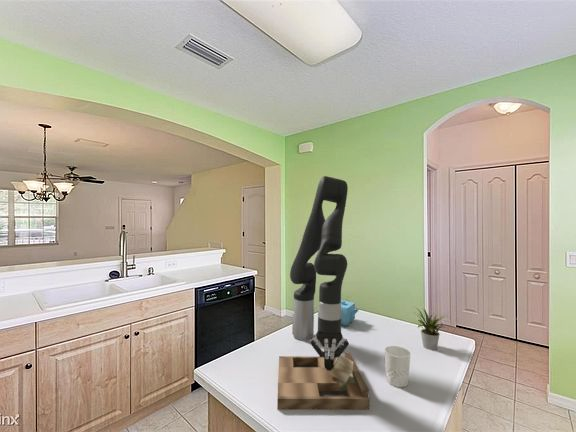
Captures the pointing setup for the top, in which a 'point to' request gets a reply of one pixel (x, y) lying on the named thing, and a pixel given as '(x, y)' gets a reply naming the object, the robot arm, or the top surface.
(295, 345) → the top surface
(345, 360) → the birch block
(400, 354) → the white cup
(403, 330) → the top surface
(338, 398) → the box
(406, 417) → the top surface
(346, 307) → the teapot
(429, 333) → the house plant
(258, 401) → the top surface
